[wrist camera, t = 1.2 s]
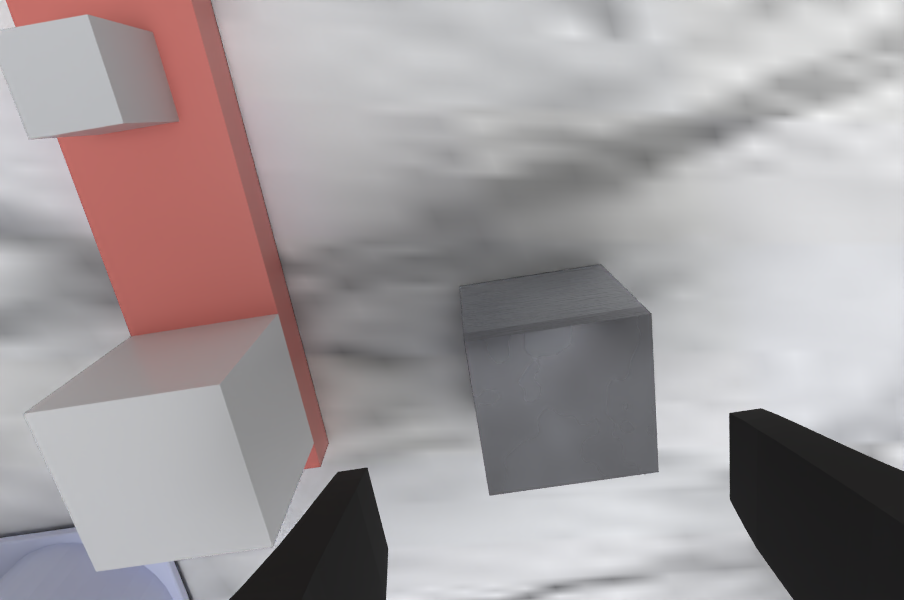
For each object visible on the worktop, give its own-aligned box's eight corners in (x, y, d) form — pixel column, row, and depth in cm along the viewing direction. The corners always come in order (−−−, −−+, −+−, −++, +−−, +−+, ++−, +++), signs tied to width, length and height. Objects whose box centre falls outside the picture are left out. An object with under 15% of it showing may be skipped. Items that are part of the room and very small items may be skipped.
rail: (328, 443, 22) (282, 575, 15) (203, 461, 22) (108, 599, 16) (195, -55, 16) (42, -158, 10) (30, -25, 16) (-220, -107, 10)
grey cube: (610, 390, 21) (658, 472, 16) (479, 409, 21) (489, 495, 16) (600, 264, 19) (651, 314, 15) (459, 286, 20) (464, 342, 15)
